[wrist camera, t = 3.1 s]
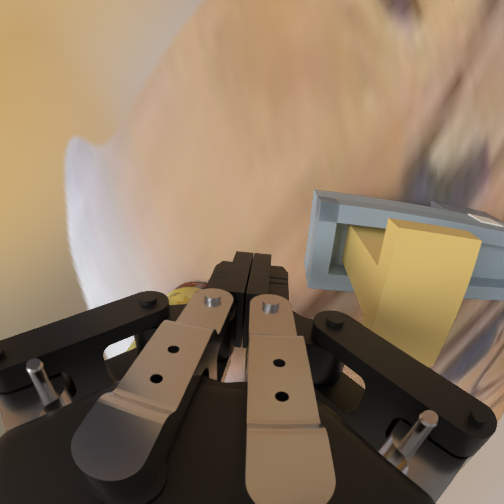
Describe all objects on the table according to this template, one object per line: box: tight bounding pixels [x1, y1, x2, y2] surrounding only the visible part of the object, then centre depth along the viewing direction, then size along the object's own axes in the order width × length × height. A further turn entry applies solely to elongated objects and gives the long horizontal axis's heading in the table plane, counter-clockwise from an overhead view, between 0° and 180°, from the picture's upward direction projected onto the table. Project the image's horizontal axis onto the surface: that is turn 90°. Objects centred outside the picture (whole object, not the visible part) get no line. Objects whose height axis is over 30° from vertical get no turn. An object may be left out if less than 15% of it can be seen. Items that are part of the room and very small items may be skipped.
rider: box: [342, 218, 482, 367], centre depth 14 cm, size 4×6×7 cm, turn 176°
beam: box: [304, 190, 504, 300], centre depth 17 cm, size 26×5×10 cm, turn 86°
